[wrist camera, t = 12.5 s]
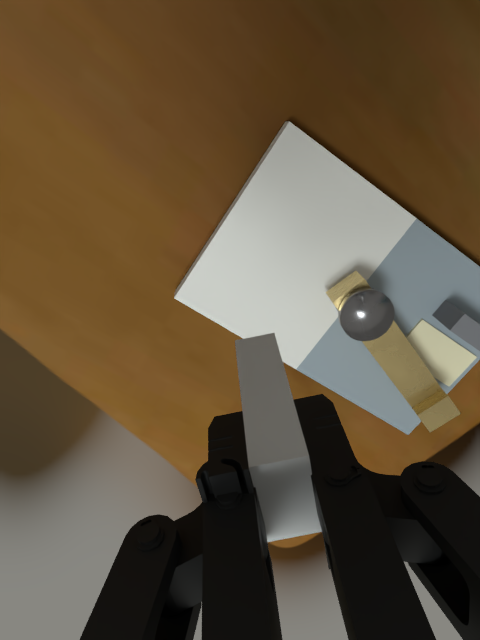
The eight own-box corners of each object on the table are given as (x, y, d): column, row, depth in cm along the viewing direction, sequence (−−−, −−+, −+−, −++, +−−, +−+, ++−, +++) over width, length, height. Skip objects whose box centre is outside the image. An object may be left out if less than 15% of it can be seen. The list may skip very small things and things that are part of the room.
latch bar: (319, 296, 33) (329, 312, 30) (361, 265, 32) (376, 279, 29) (408, 412, 37) (424, 436, 34) (447, 388, 37) (466, 409, 34)
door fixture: (285, 121, 30) (297, 121, 26) (517, 298, 36) (556, 320, 32) (175, 290, 34) (171, 312, 30) (400, 423, 40) (422, 456, 36)
